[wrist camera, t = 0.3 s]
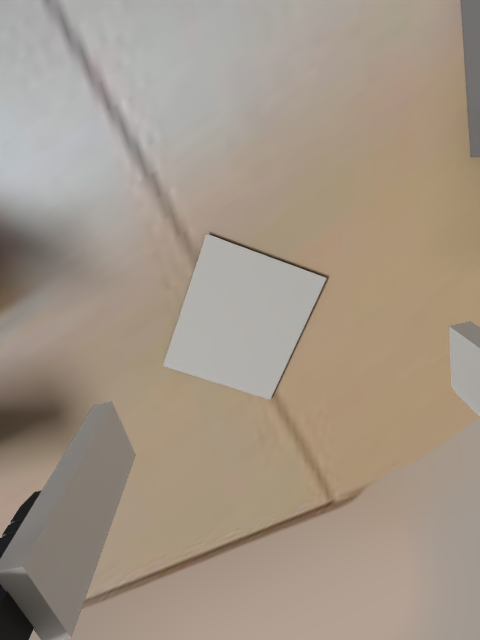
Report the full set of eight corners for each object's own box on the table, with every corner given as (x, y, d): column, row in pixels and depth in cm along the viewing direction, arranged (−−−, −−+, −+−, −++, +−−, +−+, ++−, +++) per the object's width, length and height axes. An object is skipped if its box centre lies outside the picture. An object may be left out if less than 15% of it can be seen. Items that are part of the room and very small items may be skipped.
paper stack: (400, 303, 43) (402, 305, 42) (311, 464, 51) (312, 468, 51) (206, 232, 40) (206, 233, 39) (146, 417, 48) (145, 420, 48)
